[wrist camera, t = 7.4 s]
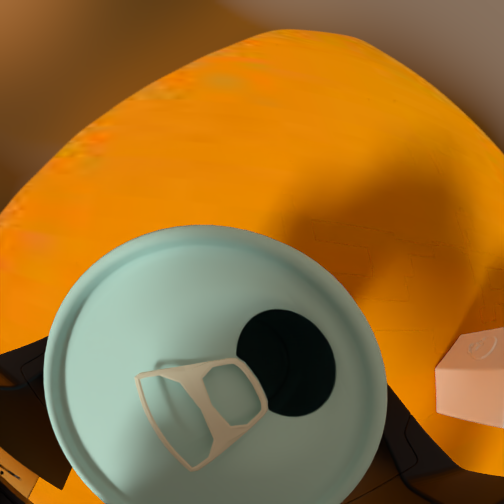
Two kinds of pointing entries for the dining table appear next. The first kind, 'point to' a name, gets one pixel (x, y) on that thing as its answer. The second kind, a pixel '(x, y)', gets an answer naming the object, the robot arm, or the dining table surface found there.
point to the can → (214, 374)
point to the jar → (473, 378)
